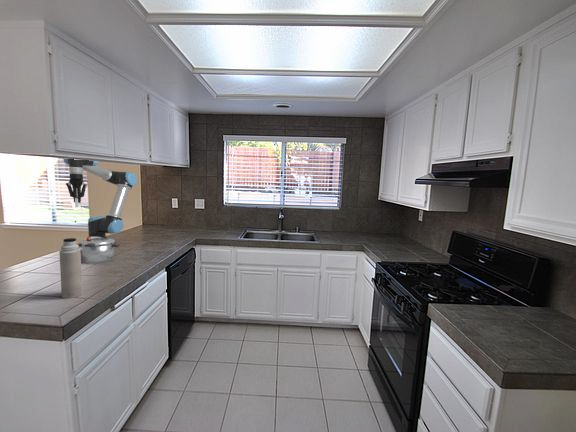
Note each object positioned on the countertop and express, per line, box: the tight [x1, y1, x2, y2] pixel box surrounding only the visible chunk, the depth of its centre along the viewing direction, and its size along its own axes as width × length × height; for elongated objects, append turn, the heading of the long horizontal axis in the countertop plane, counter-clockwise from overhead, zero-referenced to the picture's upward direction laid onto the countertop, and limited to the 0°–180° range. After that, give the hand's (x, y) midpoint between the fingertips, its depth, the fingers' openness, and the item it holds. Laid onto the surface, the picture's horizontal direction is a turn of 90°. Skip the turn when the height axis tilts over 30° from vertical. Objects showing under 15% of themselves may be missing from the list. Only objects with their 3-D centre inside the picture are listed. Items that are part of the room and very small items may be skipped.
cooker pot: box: [76, 242, 120, 265], centre depth 197 cm, size 18×25×12 cm
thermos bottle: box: [59, 237, 83, 299], centre depth 139 cm, size 8×8×28 cm
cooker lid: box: [80, 237, 116, 247], centre depth 194 cm, size 23×19×4 cm
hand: (77, 207), depth 204 cm, fingers closed
